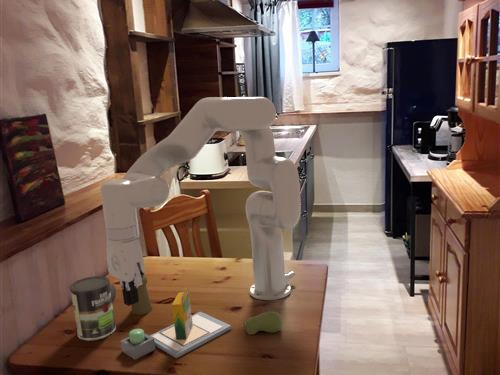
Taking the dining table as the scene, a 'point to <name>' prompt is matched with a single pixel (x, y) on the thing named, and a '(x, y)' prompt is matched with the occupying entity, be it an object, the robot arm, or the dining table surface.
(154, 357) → the dining table surface
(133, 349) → the button housing
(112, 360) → the dining table surface
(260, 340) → the dining table surface
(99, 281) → the coffee can
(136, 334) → the button
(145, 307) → the cork
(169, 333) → the grey white rectangular board
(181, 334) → the crayon box
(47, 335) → the dining table surface
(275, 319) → the pear
